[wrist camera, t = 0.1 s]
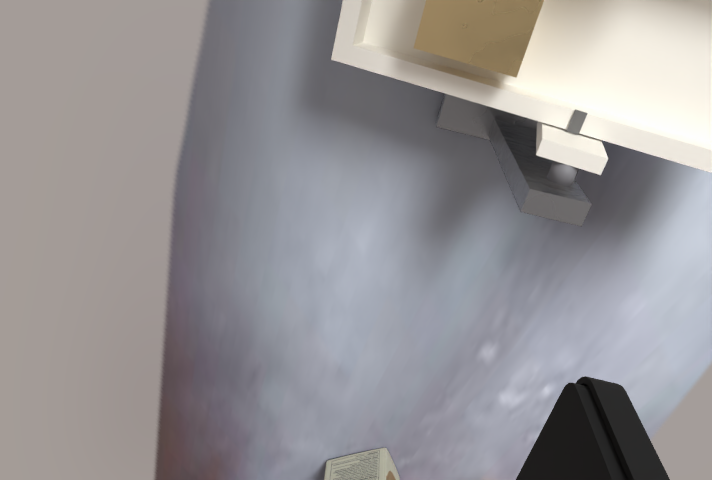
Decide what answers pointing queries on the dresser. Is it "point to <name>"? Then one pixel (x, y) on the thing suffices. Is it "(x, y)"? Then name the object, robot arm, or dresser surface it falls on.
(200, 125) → the dresser surface
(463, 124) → the stand
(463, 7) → the block
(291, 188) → the dresser surface
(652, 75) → the beam
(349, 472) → the skincare box
